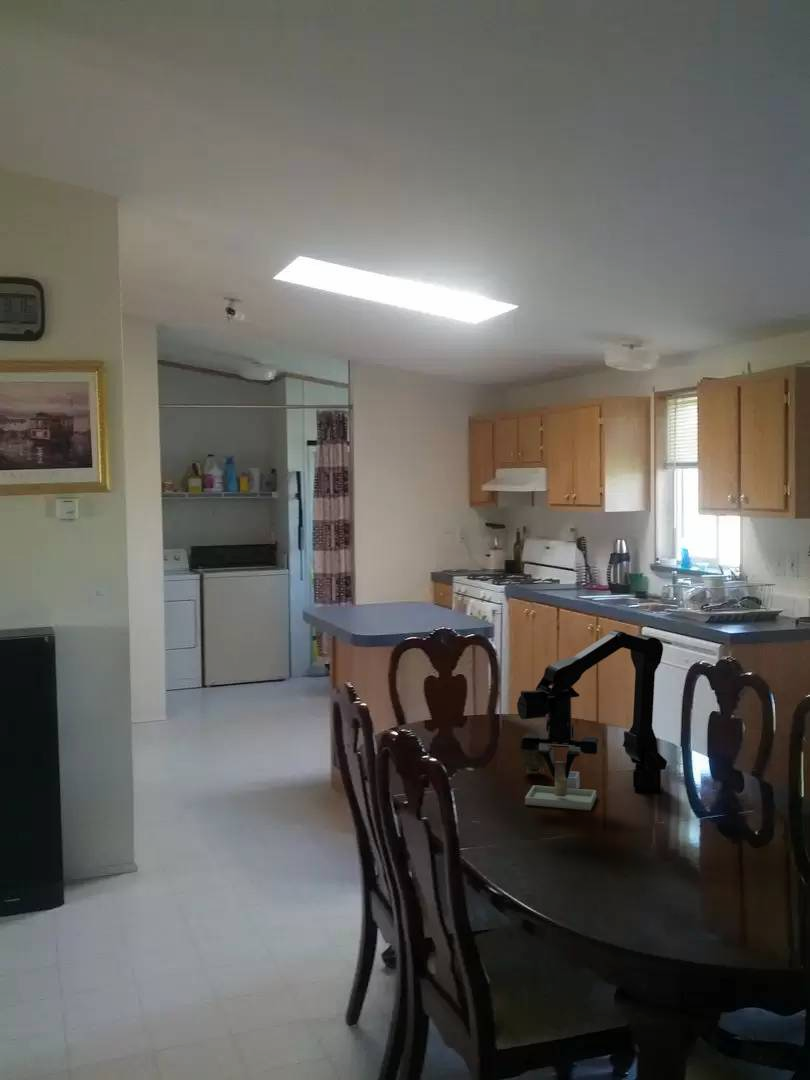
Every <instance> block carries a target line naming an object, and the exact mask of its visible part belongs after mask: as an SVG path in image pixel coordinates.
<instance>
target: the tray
mask: <svg viewBox="0 0 810 1080" xmlns="http://www.w3.org/2000/svg"><path fill="white" fill-rule="evenodd" d="M596 799H597V789H596V790H595V789H584V788H579V789H573V788H567V796H563V797H560V796H556V795H555V786H547V785H546V786H544V785H532V786H531V788H530V790H529V791H528V792H527V794H526V795H525V796H524V801H525V802H524V805H525V806H537V807H538V806H540V807H547V808H548V807H550V808H559V809H560V808H561V809H562V808H563V809H572V810H583V811H591V809H592V808H593V806H594V804H595V802H596Z"/></svg>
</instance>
